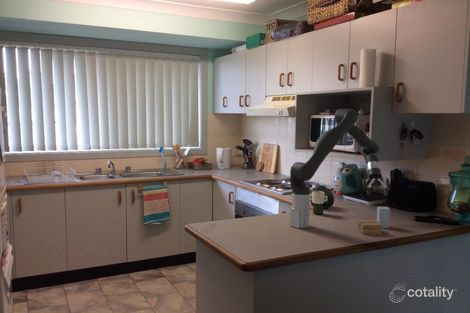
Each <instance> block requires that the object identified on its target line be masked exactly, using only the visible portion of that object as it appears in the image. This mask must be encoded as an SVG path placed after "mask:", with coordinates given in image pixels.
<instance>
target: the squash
mask: <svg viewBox="0 0 470 313" xmlns="http://www.w3.org/2000/svg"><path fill="white" fill-rule="evenodd" d="M314 191H322V192H324V193H325V196H327V201H324V203H322V205H323V210H328V209H330V208H331V207H332V206H334V204H335V195H334V192H332V190H330V189H329V188H328V187H326V186H325V185H324V184H320V185H318V186H317V187H315V188H314V189H313V190H312V191H311V192H310V194H312V192H314ZM311 198H312V196H311ZM324 200H326V197H325V198H324ZM314 204H315V203H313V202H312V200H310V205H311V206H312V207H313V206H314Z"/></svg>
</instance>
